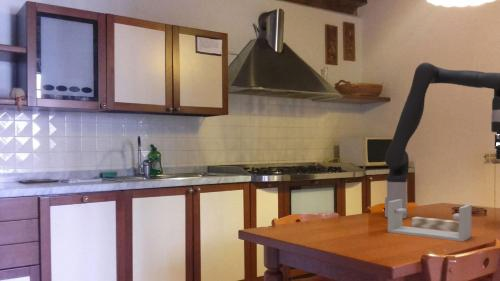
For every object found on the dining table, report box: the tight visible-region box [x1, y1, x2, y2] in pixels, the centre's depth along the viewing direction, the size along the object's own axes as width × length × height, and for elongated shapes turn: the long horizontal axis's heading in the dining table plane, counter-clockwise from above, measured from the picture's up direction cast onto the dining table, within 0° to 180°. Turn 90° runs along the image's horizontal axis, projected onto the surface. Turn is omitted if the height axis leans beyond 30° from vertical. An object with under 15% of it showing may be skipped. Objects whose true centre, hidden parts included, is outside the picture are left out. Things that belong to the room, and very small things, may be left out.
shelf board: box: [411, 216, 459, 233], centre depth 195 cm, size 22×5×4 cm, turn 51°
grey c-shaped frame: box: [387, 199, 472, 242], centre depth 182 cm, size 28×12×12 cm, turn 52°
